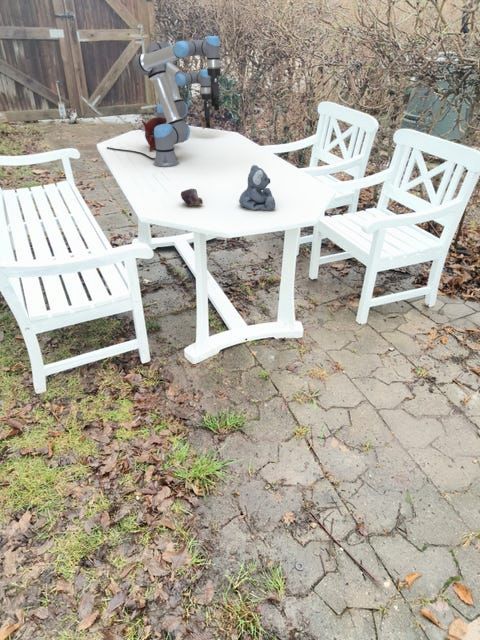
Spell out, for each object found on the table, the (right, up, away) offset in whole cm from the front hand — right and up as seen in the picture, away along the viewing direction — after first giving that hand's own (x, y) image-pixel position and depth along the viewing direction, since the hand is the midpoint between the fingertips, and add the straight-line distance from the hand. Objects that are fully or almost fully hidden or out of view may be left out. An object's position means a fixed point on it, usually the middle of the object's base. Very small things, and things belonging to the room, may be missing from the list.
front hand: (215, 108), depth 269 cm
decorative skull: (-42, -1, +60) cm, 74 cm away
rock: (-10, -68, -38) cm, 78 cm away
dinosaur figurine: (-10, +22, +78) cm, 82 cm away
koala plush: (+23, -69, -40) cm, 83 cm away
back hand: (-10, +23, +78) cm, 81 cm away
